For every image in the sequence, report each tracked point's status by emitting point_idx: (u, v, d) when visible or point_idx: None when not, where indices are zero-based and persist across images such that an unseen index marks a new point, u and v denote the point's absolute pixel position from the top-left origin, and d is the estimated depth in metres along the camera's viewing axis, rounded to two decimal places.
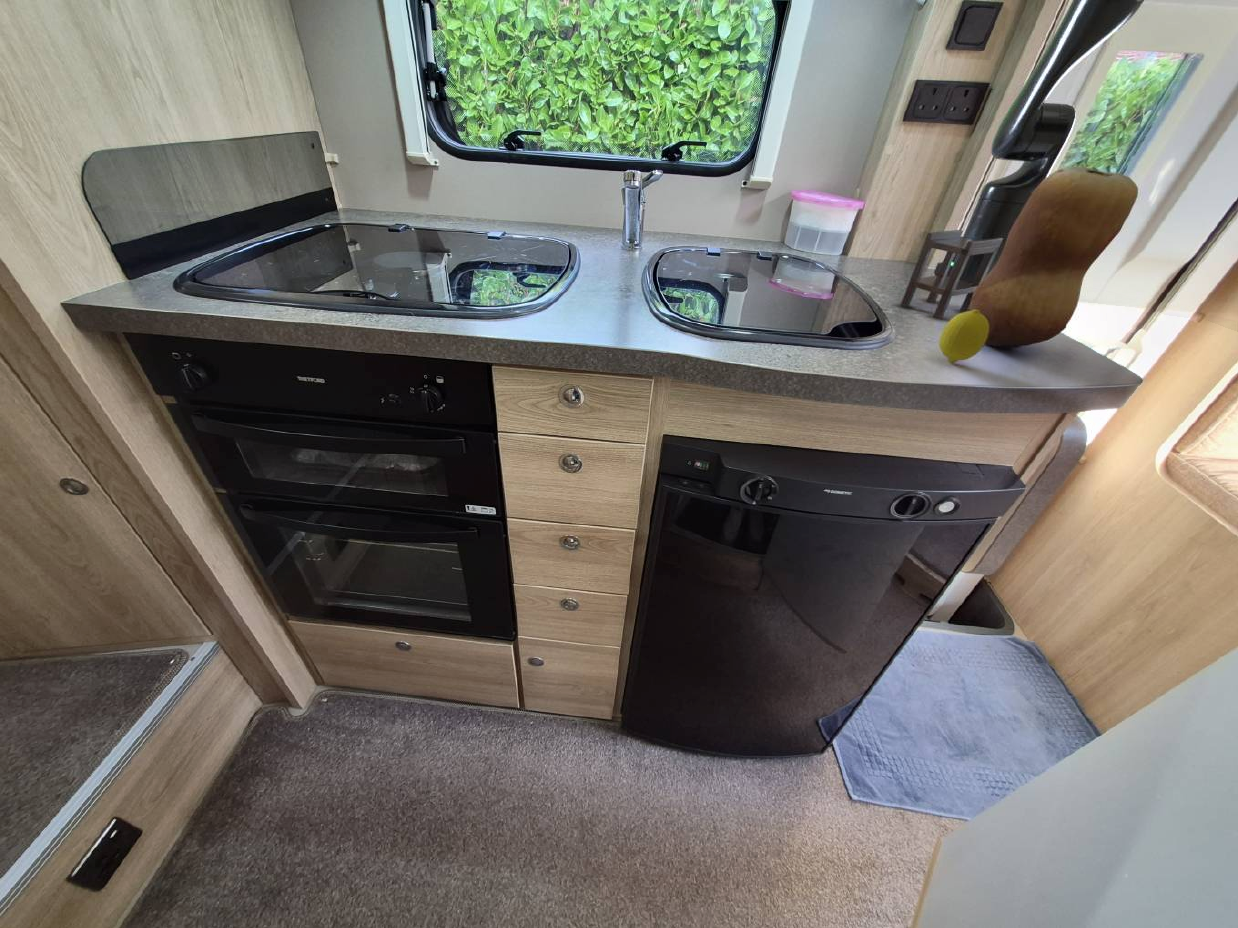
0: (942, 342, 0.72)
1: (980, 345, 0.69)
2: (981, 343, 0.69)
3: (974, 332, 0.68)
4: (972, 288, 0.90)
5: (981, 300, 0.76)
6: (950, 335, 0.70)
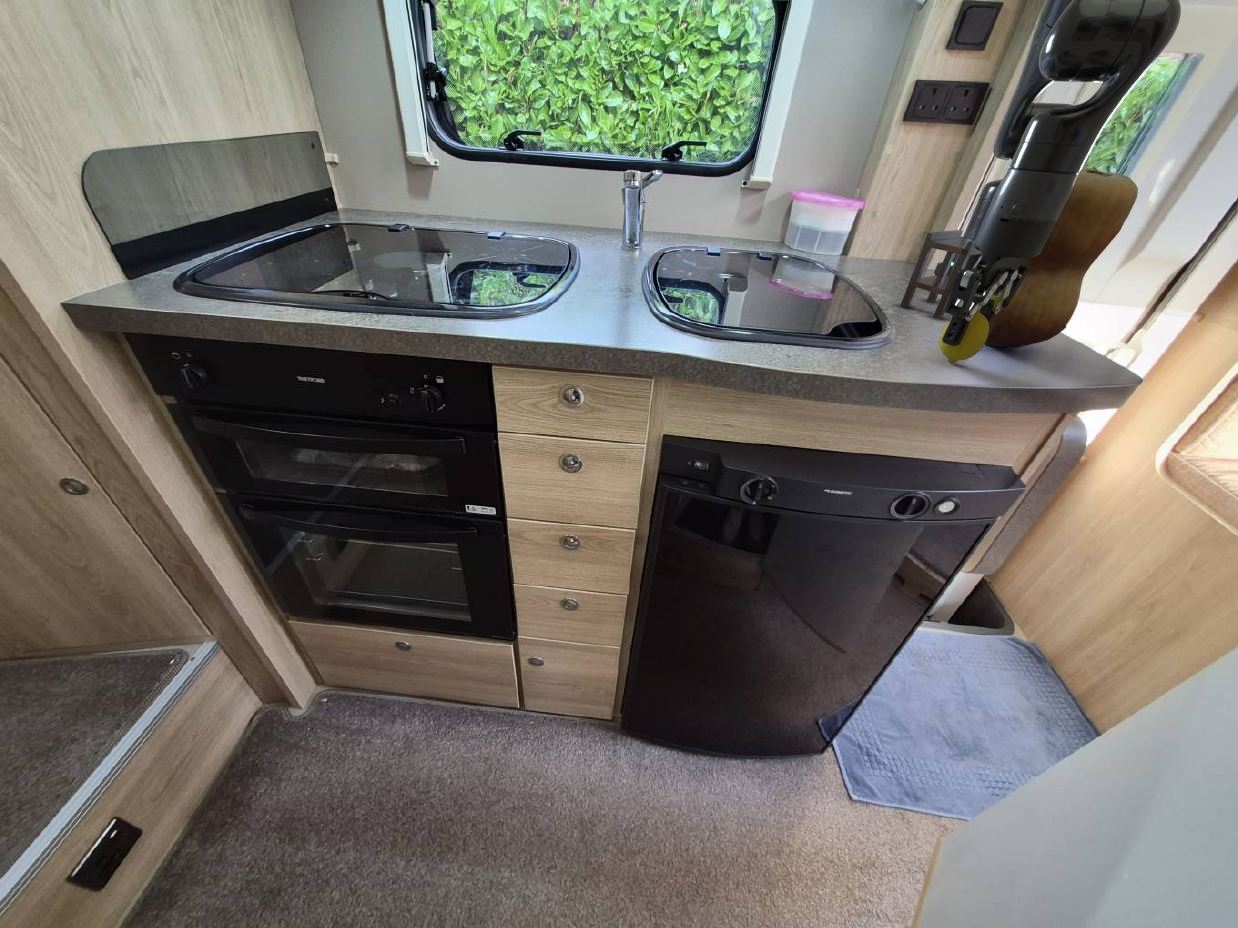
0: (942, 342, 0.72)
1: (980, 345, 0.69)
2: (982, 343, 0.69)
3: (974, 332, 0.68)
4: None
5: None
6: None
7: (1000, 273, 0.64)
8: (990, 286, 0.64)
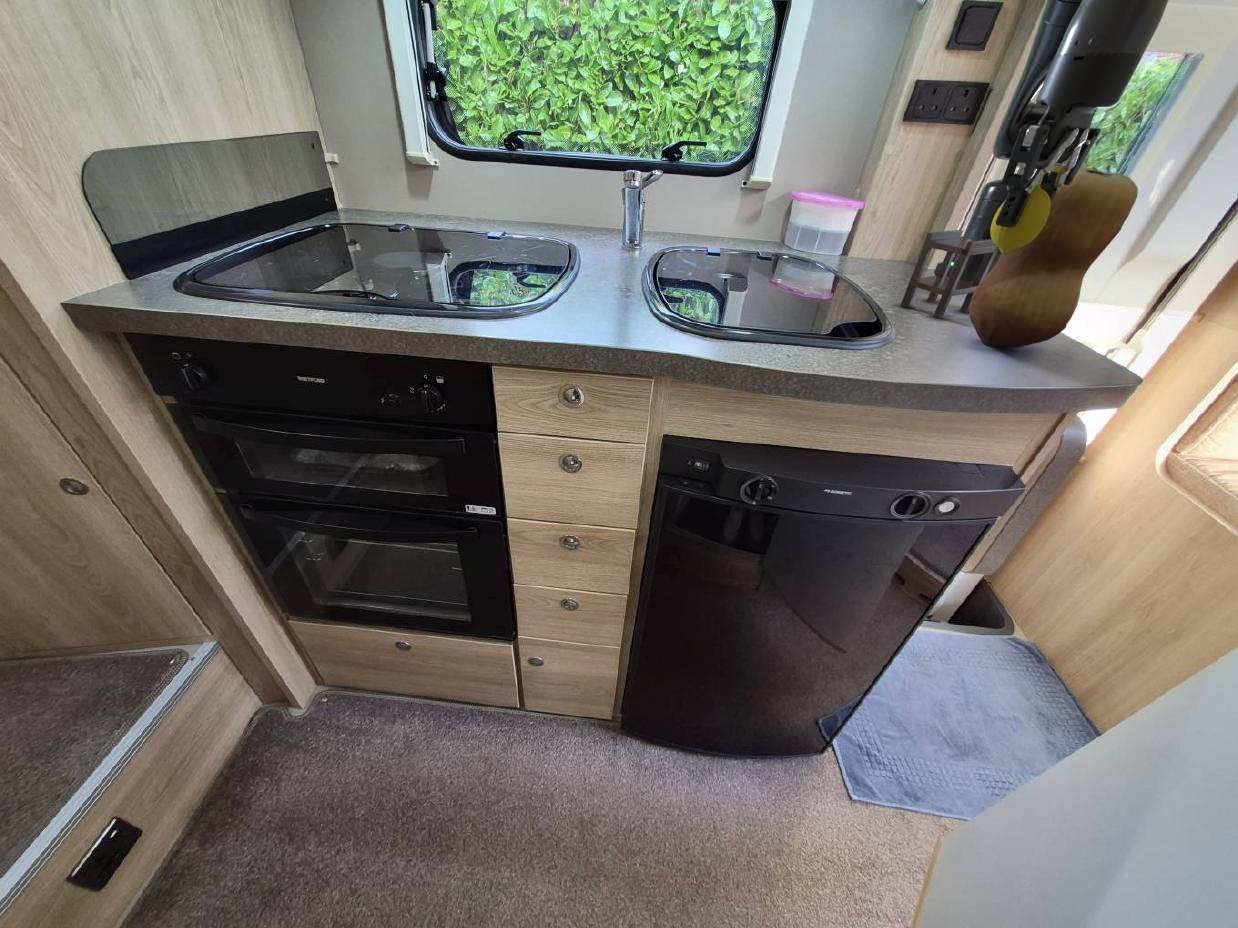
0: (994, 227, 0.63)
1: (1040, 226, 0.60)
2: (1042, 223, 0.60)
3: (1034, 209, 0.59)
4: (972, 288, 0.90)
5: (981, 300, 0.76)
6: None
7: (1069, 130, 0.55)
8: (1056, 147, 0.55)
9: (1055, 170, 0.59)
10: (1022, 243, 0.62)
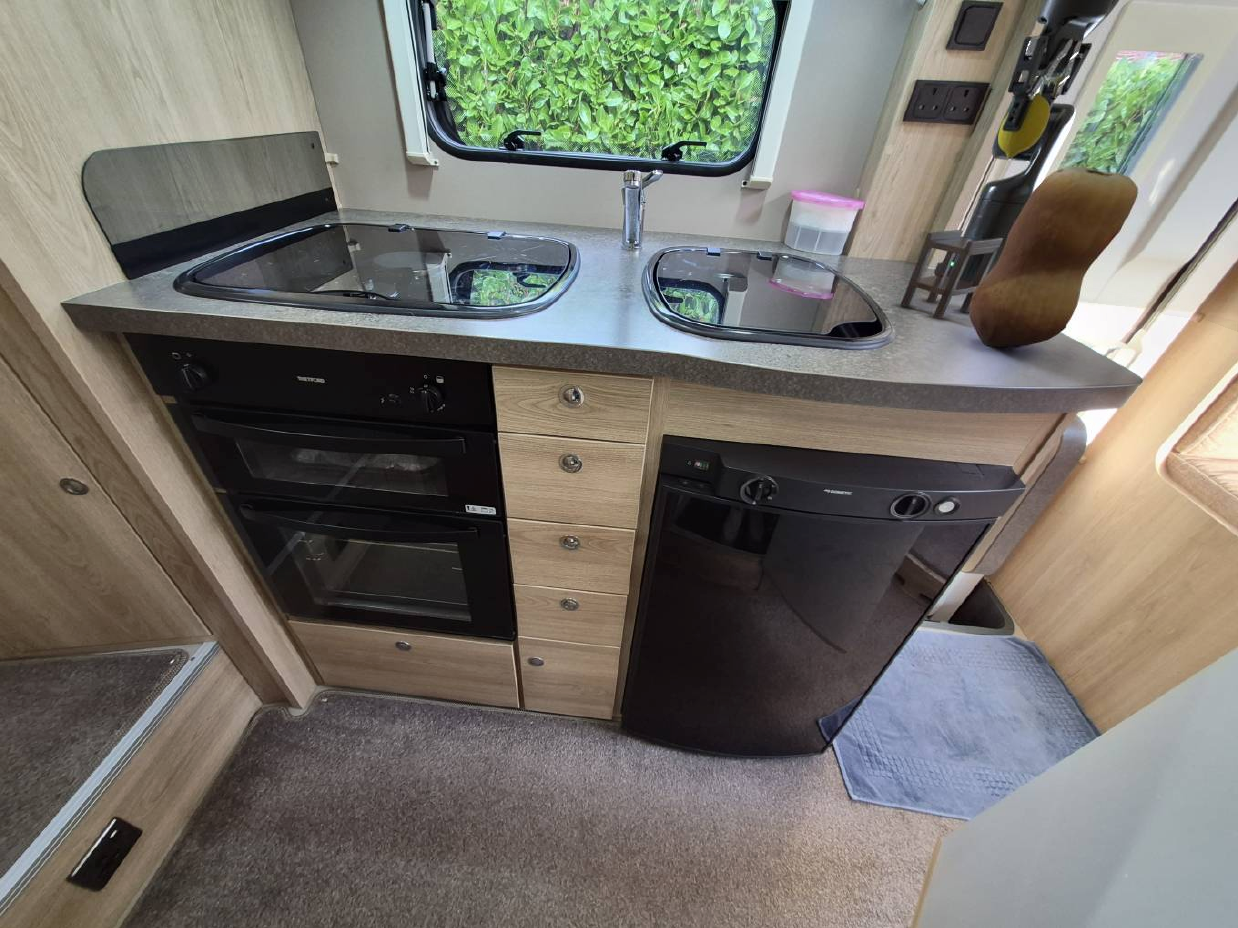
0: (1002, 133, 0.73)
1: (1041, 129, 0.71)
2: (1042, 127, 0.71)
3: (1036, 113, 0.70)
4: (972, 288, 0.90)
5: (981, 300, 0.76)
6: None
7: (1065, 41, 0.65)
8: (1054, 57, 0.66)
9: (1053, 81, 0.70)
10: (1025, 146, 0.72)
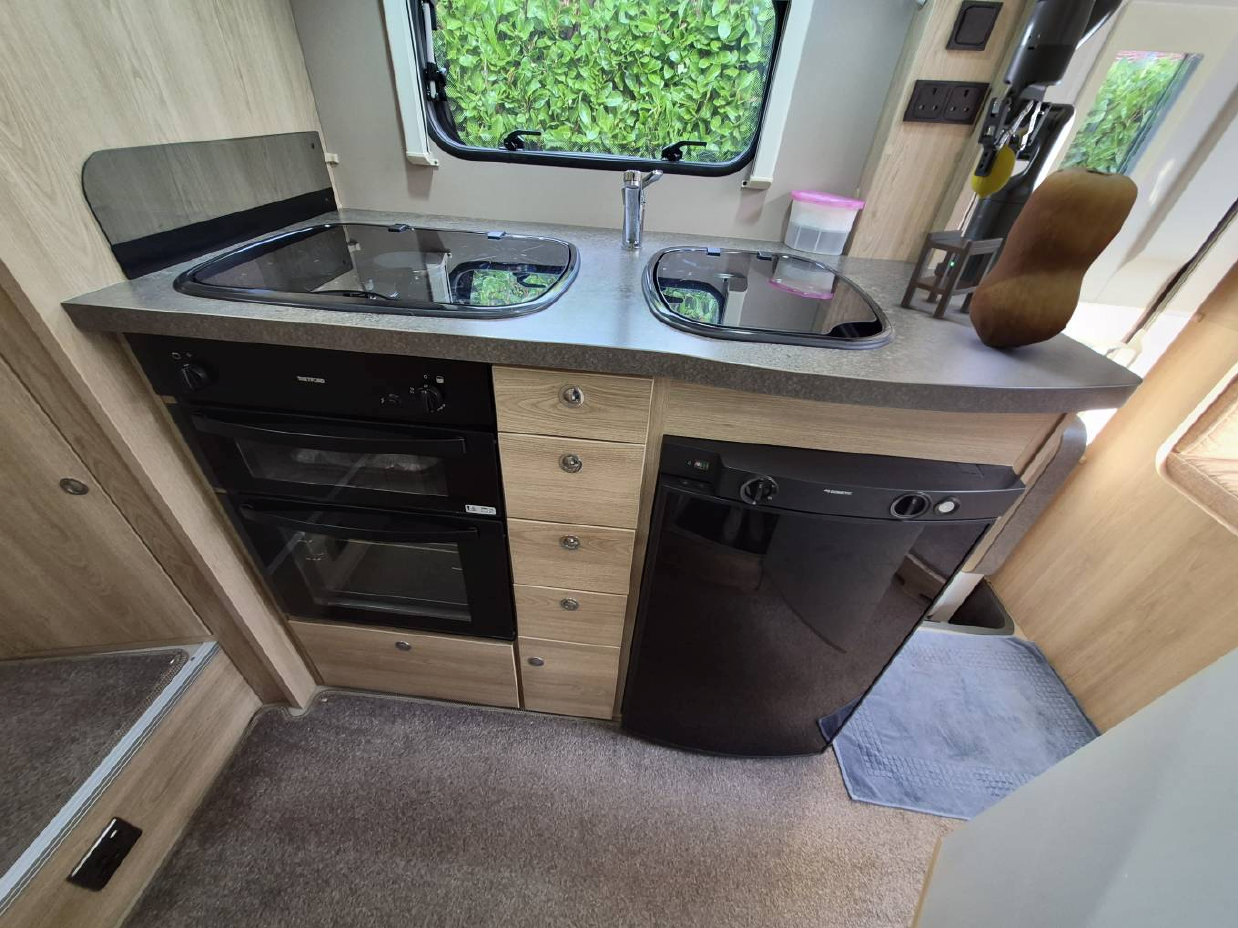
0: (973, 178, 0.82)
1: (1007, 175, 0.80)
2: (1009, 173, 0.80)
3: (1003, 162, 0.79)
4: (972, 288, 0.90)
5: (981, 300, 0.76)
6: None
7: (1026, 101, 0.74)
8: (1017, 114, 0.75)
9: (1018, 133, 0.79)
10: (994, 189, 0.81)
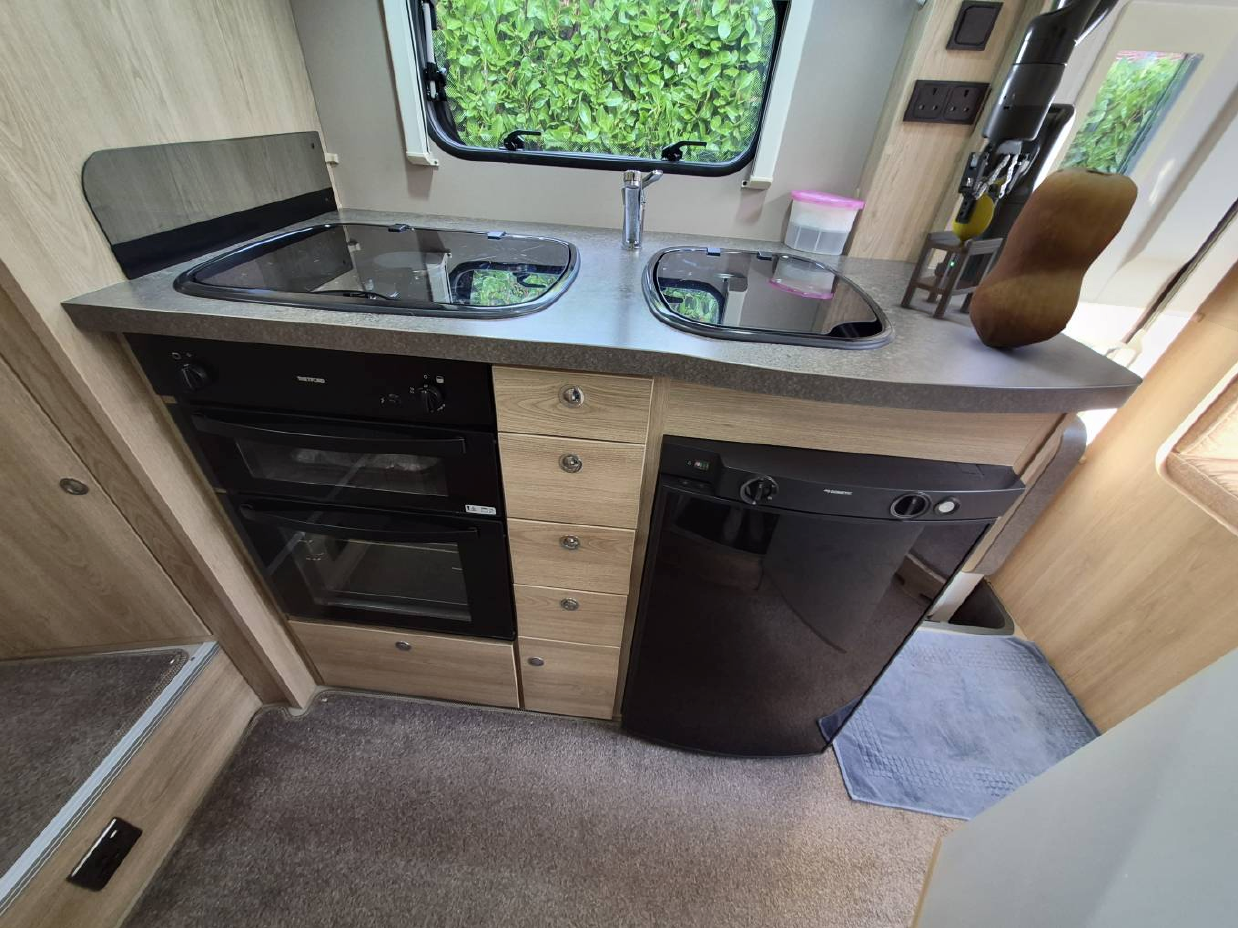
0: (955, 223, 0.86)
1: (987, 222, 0.84)
2: (988, 220, 0.84)
3: (982, 210, 0.83)
4: (972, 288, 0.90)
5: (981, 300, 0.76)
6: None
7: (1003, 156, 0.78)
8: (994, 167, 0.79)
9: (997, 183, 0.83)
10: (974, 235, 0.85)
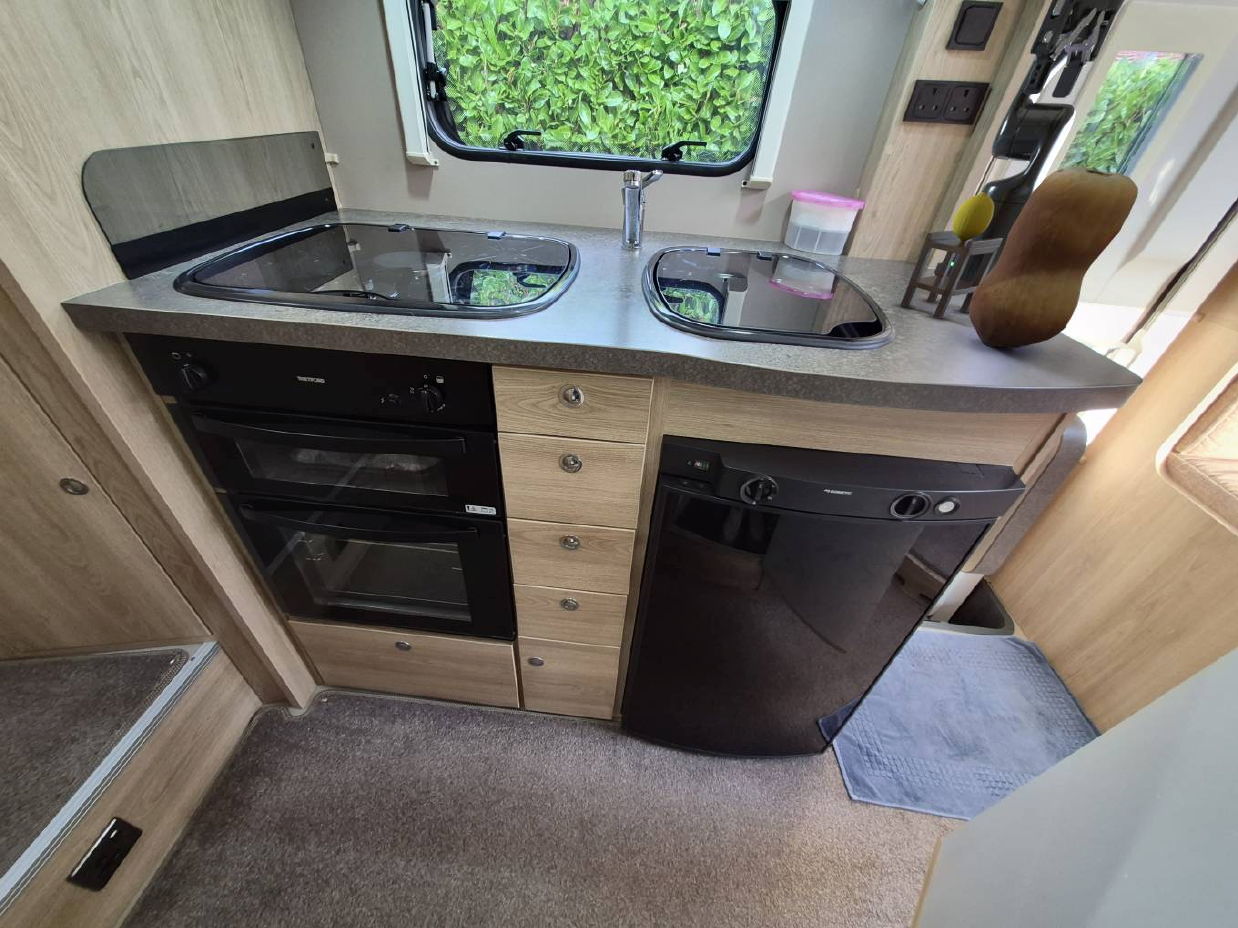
0: (955, 223, 0.86)
1: (987, 222, 0.84)
2: (988, 220, 0.84)
3: (982, 210, 0.83)
4: (972, 288, 0.90)
5: (981, 300, 0.76)
6: (962, 215, 0.85)
7: (1089, 10, 0.67)
8: (1078, 22, 0.67)
9: (1080, 49, 0.72)
10: (974, 235, 0.85)
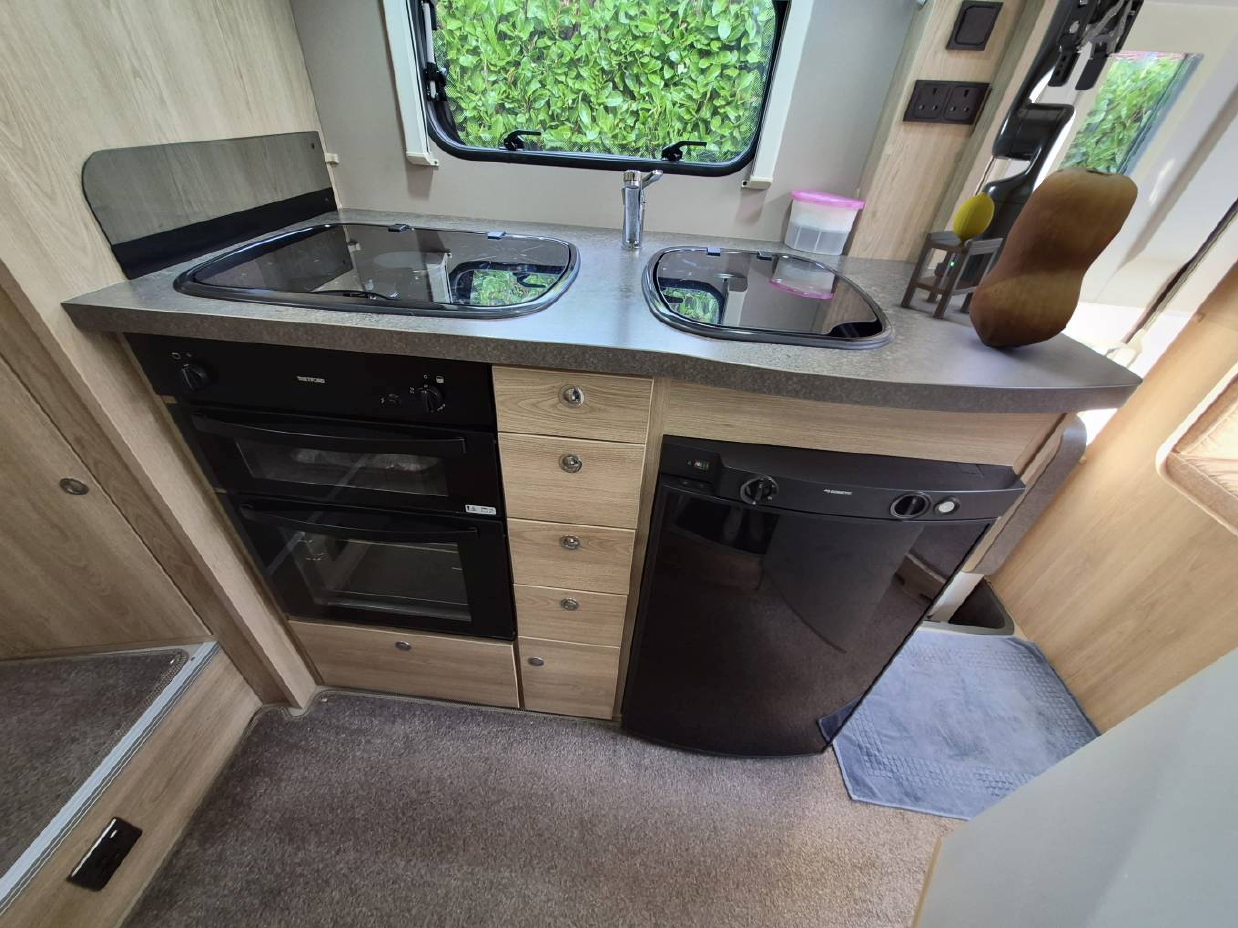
0: (955, 223, 0.86)
1: (987, 222, 0.84)
2: (988, 220, 0.84)
3: (982, 210, 0.83)
4: (972, 288, 0.90)
5: (981, 300, 0.76)
6: (962, 215, 0.85)
7: None
8: (1106, 12, 0.65)
9: (1105, 40, 0.70)
10: (974, 235, 0.85)
